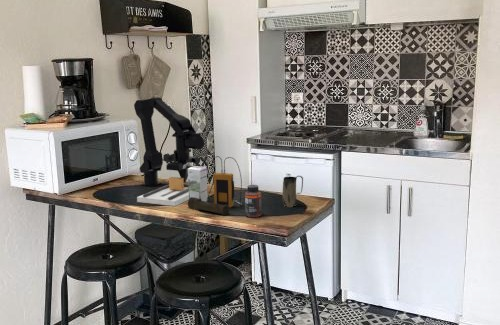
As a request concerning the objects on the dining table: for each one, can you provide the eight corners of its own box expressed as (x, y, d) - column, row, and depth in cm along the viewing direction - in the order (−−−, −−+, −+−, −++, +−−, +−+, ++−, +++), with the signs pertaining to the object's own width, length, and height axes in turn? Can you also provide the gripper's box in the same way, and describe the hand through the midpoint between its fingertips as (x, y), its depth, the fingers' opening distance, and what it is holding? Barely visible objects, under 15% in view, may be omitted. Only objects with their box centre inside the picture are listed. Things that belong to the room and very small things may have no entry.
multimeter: (248, 202, 205) (248, 153, 201) (240, 208, 195) (239, 157, 192) (215, 199, 209) (213, 151, 206) (205, 206, 200) (203, 156, 196)
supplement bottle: (260, 213, 189) (260, 183, 187) (262, 217, 184) (262, 187, 181) (244, 213, 189) (244, 184, 187) (246, 218, 183) (245, 188, 181)
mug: (280, 206, 198) (280, 176, 195) (284, 202, 203) (284, 173, 200) (300, 208, 195) (300, 177, 193) (304, 204, 200) (304, 174, 198)
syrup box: (208, 201, 207) (207, 166, 204) (200, 205, 201) (199, 169, 199) (196, 200, 209) (194, 165, 206) (188, 203, 204) (187, 168, 201)
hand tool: (230, 214, 189) (230, 202, 188) (223, 216, 186) (223, 204, 185) (193, 206, 201) (192, 195, 200) (186, 208, 197) (185, 197, 197)
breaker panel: (166, 189, 227) (166, 182, 227) (201, 193, 220) (201, 185, 220) (137, 201, 207) (136, 194, 207) (175, 206, 200) (174, 198, 200)
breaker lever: (171, 188, 220) (171, 176, 219) (183, 189, 218) (183, 177, 217) (169, 189, 218) (168, 177, 217) (181, 190, 216) (180, 178, 215)
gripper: (177, 143, 232) (179, 176, 235) (154, 149, 215) (156, 185, 218) (199, 144, 228) (200, 178, 231) (177, 151, 211) (179, 187, 214)
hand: (184, 182), depth 223 cm, fingers closed
